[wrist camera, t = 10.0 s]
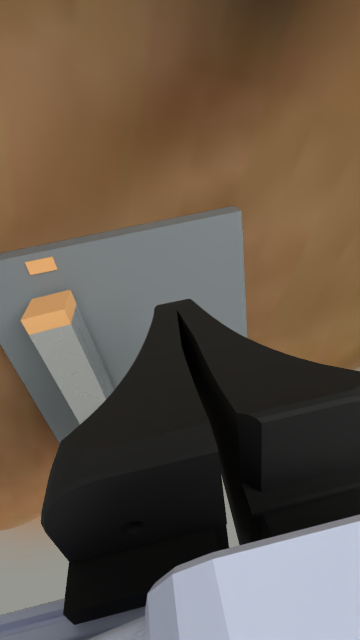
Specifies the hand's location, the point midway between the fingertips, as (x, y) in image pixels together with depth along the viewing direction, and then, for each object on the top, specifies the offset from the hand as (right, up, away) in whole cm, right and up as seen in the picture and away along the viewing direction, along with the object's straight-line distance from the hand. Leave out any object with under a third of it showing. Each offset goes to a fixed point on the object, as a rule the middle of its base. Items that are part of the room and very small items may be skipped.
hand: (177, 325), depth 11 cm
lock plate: (-3, -1, +12) cm, 13 cm away
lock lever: (-7, -3, +11) cm, 13 cm away
